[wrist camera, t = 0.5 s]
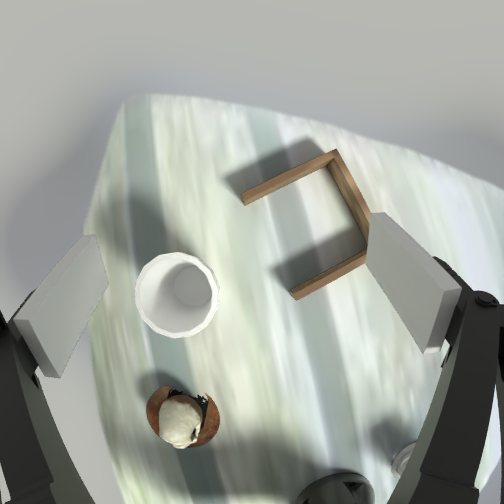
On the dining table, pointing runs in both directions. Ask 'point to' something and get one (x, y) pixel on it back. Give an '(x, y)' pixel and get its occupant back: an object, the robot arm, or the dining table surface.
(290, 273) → the dining table surface
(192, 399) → the white and brown lump
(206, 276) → the foam cup
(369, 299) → the dining table surface
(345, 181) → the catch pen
